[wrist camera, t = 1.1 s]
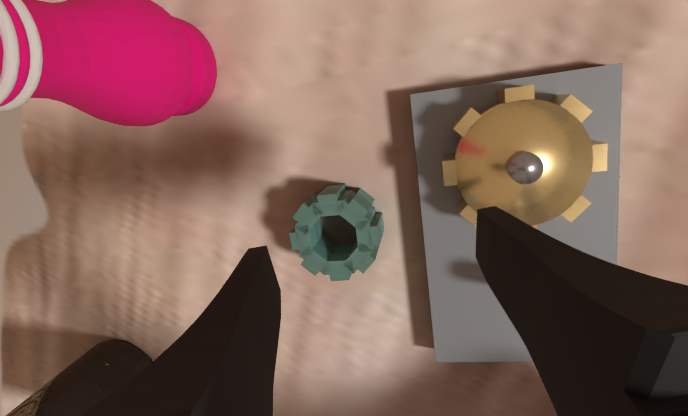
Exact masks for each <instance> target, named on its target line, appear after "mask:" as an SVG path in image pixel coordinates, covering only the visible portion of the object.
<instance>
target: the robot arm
mask: <svg viewBox="0 0 688 416" xmlns="http://www.w3.org/2000/svg"><path fill="white" fill-rule="evenodd" d="M475 257H476V259H477V262H478V264H479V266H480V269H481V271H482V273H483V275H484V277H485V280H486V282H487V283H488V285H489V287H490V288H491V290H492V292H493V293H494V295H495V297H496V298H497V300H498V301H499V303H500V305H501V306H502V308H503V309H504V311H505V313H506V314H507V316H508V317H509V319H510V321H511V322H512V324H513V325H514V327H515V329H516V330H517V332H518V333H519V335H520V337H521V339H522V340H523V342H524V344H525V346H526V348H527V350H528V352H529V354H530V356H531V358H532V360H533V362H534V364H535V366H536V368H537V370H538V372H539V375H540V377H541V379H542V381H543V383H544V386H545V388H546V390H547V392H548V394H549V397H550V399H551V401H552V403H553V405H554V408H555V410H556V413H557V415H558V416H688V286H687V285H683V284H679V283H675V282H671V281H667V280H663V279H660V278H656V277H652V276H649V275H646V274H642V273H639V272H636V271H633V270H630V269H627V268H624V267H621V266H618V265H615V264H612V263H610V262H607V261H604V260H602V259H599V258H597V257H594V256H592V255H589V254H587V253H585V252H582V251H580V250H578V249H575V248H573V247H571V246H569V245H567V244H565V243H563V242H561V241H559V240H557V239H555V238H553V237H551V236H549V235H547V234H545V233H543V232H541V231H539V230H538V229H536V228H534V227H532V226H530V225H529V224H527V223H525V222H523V221H521V220H520V219H518V218H516V217H514V216H513V215H511V214H509V213H507V212H506V211H504V210H502V209H500V208H498V207H496V206H492V207H486V208H481V209H477V226H476V253H475ZM280 320H281V291H280V287H279V284H278V281H277V278H276V274H275V271H274V268H273V265H272V262H271V259H270V256H269V252H268V249H267V246H261V247H256V248H250V249H248V250H247V252H246V253H245V255H244V256H243V257H242V259H241V261H240V262H239V264H238V265H237V267H236V268H235V270H234V271H233V273H232V274H231V275H230V277H229V278H228V280H227V281H226V283H225V284H224V285H223V287H222V288H221V290H220V291H219V292H218V294H217V295H216V296H215V298H214V299H213V300H212V302H211V303H210V304H209V305H208V307H207V308H206V309H205V310H204V312H203V313H202V314H201V315H200V316H199V317H198V319H197V320H196V321H195V322H194V323H193V324H192V325H191V326H190V327H189V328H188V329H187V330H186V331H185V333H184V334H183V335H182V336H181V337H180V338H179V339H178V340H176V341H175V342H174V343H173V344H172V345H171V346H170V347H169V348H168V349H167V350H166V351H165V352H163V353H162V354H161V355H160V356H159V357H158V358H157V359H156V360H155V361H153V362H152V363H151V364H150V365H149V366H147V367H146V368H145V369H144V370H143V371H141V372H140V373H139V374H138V375H136V376H135V377H134V378H132V379H131V380H130V381H129V382H127V383H126V384H125V385H123V386H122V387H121V388H119V389H118V390H116V391H115V392H113V393H112V394H111V395H109V396H108V397H106V398H105V399H103V400H102V401H100V402H99V403H98V404H96V405H95V406H93V407H92V408H90V409H89V410H87V411H86V412H84V413H83V414H82V416H273V383H274V372H275V364H276V355H277V347H278V339H279V330H280Z"/></svg>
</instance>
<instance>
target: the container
mask: <svg viewBox="0 0 688 416" xmlns="http://www.w3.org/2000/svg"><path fill="white" fill-rule="evenodd" d="M151 363H152V361H151V360H150V359H149V357H148V356H147V355H146V354H145V353H143V352H142V351H140V350H139V349H137V348H136V347H135V346H133V345H131V344H129V343H126V342H123V341H117V340H111V341H106V342H102V343H100V344H98V345H96V346H94V347H93V348H92V349H90V350H89V351H88V352H87V353H85V354H84V355H83V356H81V357H80V358H79V359H78V360H76V361H75V362H74V363H72V364H71V365H70V366H69V367H67V368H66V369H65V370H64V371H62V372H61V373H60V374H58V375H57V376H56V377H55V378H53V379H52V380H51V381H49V382H48V383H47V384H46V385H44V386H43V387H42V388H41V389H39V390H38V391H37V392H35V393H34V394H33V395H32V396H30V397H29V398H28V399H26V400H25V401H24V402H22V403H21V404H20V405H19V406H17V407H16V408H15V409H14V410H12V411H11V412H10V413H8V414H7V415H6V416H82V414H83V413H84V412H86V411H87V410H89V409H90V408H92V407H93V406H95V405H96V404H98V403H99V402H100V401H102V400H103V399H105V398H106V397H108V396H109V395H111V394H112V393H113V392H115V391H116V390H118V389H119V388H121V387H122V386H123V385H125V384H126V383H127V382H129V381H130V380H131V379H132V378H134V377H135V376H136V375H138V374H139V373H140V372H141V371H143V370H144V369H145V368H146V367H147V366H149V365H150V364H151Z"/></svg>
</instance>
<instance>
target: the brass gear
mask: <svg viewBox="0 0 688 416" xmlns="http://www.w3.org/2000/svg"><path fill="white" fill-rule="evenodd" d="M533 99H535V95H534V85H528V86H520V87H513V88H506V89H500V90H498V103H497V104H494V105H492V106H490V107H488V108H486V109H485V110H483V111H481V112H480V113H478V112H476V111H475V110H474V109H473V108H471V107H467V108H466V109H465V110H464V111H463V112H462V114H461V115H460V116H459V117H458V118H457V120H456V121H455V122H454V123H453V124H452V126H451V127H452V128H453V129H454V130H455V131H456V132H457V133H459V134H460V136H459V138H458V140H457V143H456V145H455V149H454V154H453V155H449V156H441V166H442V178H443V183H444V186H452V185H458V187H459V190H460V192H461V194H462V196H463V198H462V199H461V200H460V202H459V203H458V204H457V208H458V212H459V214H460V215H461V216H462V217H464V218H465V219H466V220H468V221H469V222H470V223H471V224H473V225H474V226H475V227H476V226H477V209H481V208H486V207H492V206H496V207H498V208H500V209H502V210H504V211H506V212H507V213H509V214H511V215H513V216H514V217H516V218H518V219H520V220H521V221H523V222H525V223H527V224H529V225H530V226H532V227H534V228H536V229H538V225H537V224H541V223H544V222H547V221H549V220H551V219H553V218H555V217H557V216H559V215H560V214H561V215H562V216H563V217H564V218H566V219H567V220H568V221H569V222H572V221H573V220H575V219H576V218H577V217H578V216H579V215H580V214H581V213H582V212H583V211H584V210H585V209H586V208H587V207H588V206H589V205H591V204H592V203H591V202H589V201H588V200H587V199H586V198H584V197H583V196H582V195H581V194H582V193H583V191H584V189H585V187H586V185H587V183H588V181H589V178H590V175H591V172H598V171H607V151H608V143H604V142H600V141H596V140H592V139H591V140H590V138H589V136H588V133H587V131H586V130H585V128H584V126H583V125H582V124H581V123H582V122H583V121H584V120H585V119H586V118H587V117H588V116H589V115H590V114H591V113H592V112H593V111H592V110H590V109H589V108H588V107H587V106H585V105H584V104H583V103H582V102H580V101H579V100H578V99H577V98H575V97H574V96H573V95H572V94H558V95H557V96H556V97H555V98H554V99H553V100H552V101H551V102H548V101H542V100H533Z"/></svg>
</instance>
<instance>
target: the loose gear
mask: <svg viewBox="0 0 688 416" xmlns="http://www.w3.org/2000/svg"><path fill="white" fill-rule="evenodd" d="M373 201H374V198H372V197H371V196H370V195H368V194H367V193H366V192H365V191H363V190H362V189H361V188H360V189H359V191H358V192H357V193H356V192H354V191H353V190H346V185H345V184H337V185H328V186H327V187H326V188H325V189H324V190H323V191H322V192H320V193H319V194H316V193H314V194H313V195H312V196H311V197H310V198H309V199H307V200H306V201H305V202H304V203H303V204H302V205H301V207H300V208H299V209H298V211H297V212H296V213H295V215H294V216H293V217H292V218H293V219H295V220H296V221H297V222H298V223H297V224H296V225H295V226H294V228H293V229H292V230H291V231H290V232H289V236H290V242H291V247H292V251H293V250H299V255H300V256H301V257H302V258H303V259H304V261H303V262H302V263H301V265H302V266H303V267H305V268H306V269H307V270H308V271H310V272H311V273H312V274H313V275H316V274H317V273H318V272H319V271H320V272H321V273H322V274H323V275H330V279H331V281H339V280H349V278H350V276H351V274H352V273H355V271H356V270H357V269H358V270H360V271H361V272H362V273H364V272H365V271H366V270H367V269H368V267H369V266H370V265H371V264H372V263H373V262H374V261H375V258H376V255H377V251H378V248H379V245H380V242H381V238H382V235H383V232H384V224H383V216H382V213H375V207H373V206H372V203H373ZM334 215H340V216H341V217H343V218H344V219H345V220H347V221H348V222H349V223H350V224H352V225H353V226H354V227H355V228H356V235H357V241H356V242H355V243H354V244H346V245H336V244H335V243H334V242H332V241H331V240H330V239H329V238H327V237H326V236H325V235H324V234H323V229H322V223H321V217H322V216H334Z"/></svg>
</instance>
